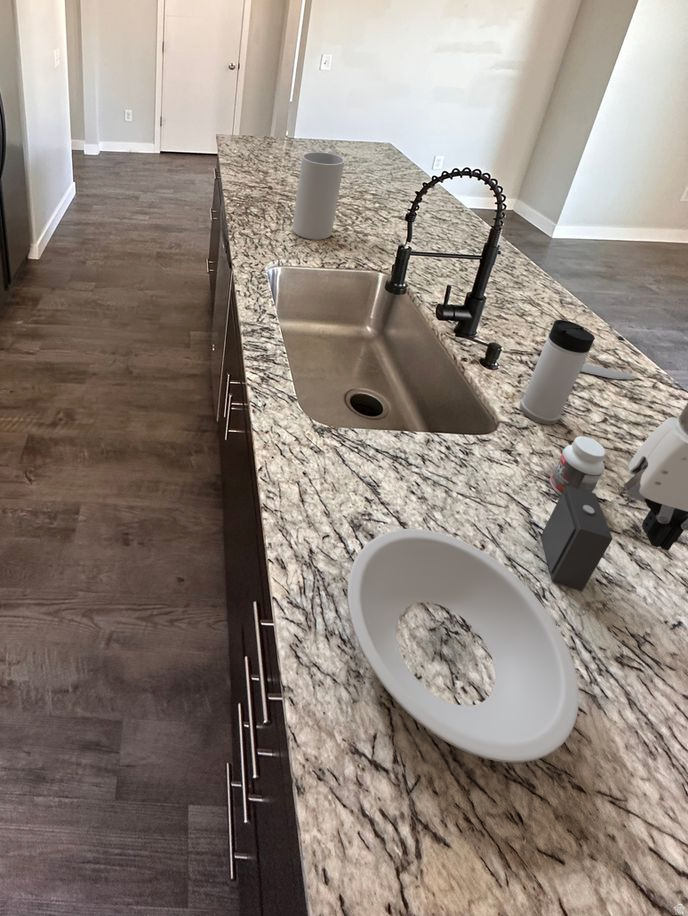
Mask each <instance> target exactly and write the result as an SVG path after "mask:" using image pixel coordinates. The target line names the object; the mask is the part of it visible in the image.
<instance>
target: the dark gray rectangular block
mask: <svg viewBox="0 0 688 916" xmlns="http://www.w3.org/2000/svg"><path fill="white" fill-rule="evenodd" d="M607 522H608V521H607V520H606V517H605V514H604V512H603V510H602V507H601V504H600V501H599V499H598V497H597V494H596V493H595V492H592V493H591V492H588V491H584V490H581V489H577V488H574V487H570V486H567V485H566V486H565V488H564V490H563V492H562V494H561V496H560V495H559V498H558V500H557V502H556V504H555V506H554V508H553V511H552V512H551V515H550V516H549V518H548V520H547V523H546V525H545V527H544V528H543V530H542V533H541V535H540V540H541V544H542V548H543V552H544V556H545V560H546V564H547V569H548V572H549V577H550V580H551V582H552V583H555V584H557V585H560V586H563V587H567V588H569V589H573V590H575V591H578V592H583V591H584V589H585V587H586V586H587V584H588V582H589V580H590V579H591V577H592V575H593V574H594V572H595V570H596V568H597V567H598V565H599V564H600V562H601V560H602V558H603V557H604V555H605V553H606V551H607V549H608V548H609V547H610V545H611V543H612V541H613V540H614V538H613V536H612V532H611V530H610V528H609V525H608V523H607Z"/></svg>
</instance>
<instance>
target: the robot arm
mask: <svg viewBox="0 0 688 916" xmlns="http://www.w3.org/2000/svg"><path fill="white" fill-rule="evenodd" d="M627 469H628V472H629V474H632V475H633V476H632V477H631V478H629V479H628V481H626V482H625V483H624V484H623V488H624V491H625V492H626V495H627V496H628V497H631V498H632V499H634V500H636V501H639V502H641V503H645V504H646V506H647V508H648V509H649V511H648V512H647V515H646V516H645V517H644V518H643V521H642V523H641V529H642V531H643V532H644V534H646V536H647V539H648V541H649V544H650V545H651V546H652V547H654V548H657V549H658V548H661V550H664V551H670V549H671V548H672V546H673V545H674V543H677V541H678V540H679V538H680V537H681V536H682V534H683V532H684V531H687V532H688V402H687V403H686V405H685V406H684V408H683V410H682V411H681V413H680V414H679V416H678V417H668V418H667V419H665V420H664V421H663V422H661V423H660V424H659V425H658V426H657V427H656V428H655V429H654V430H653V431H652V432H651V433H650V434H649V435H648V437H647V438H646V439H645V440H644V441H643V442H642V444H641V445H640V446H639V448H638V450H637V451H636V452H635V454H634V455H633V456H632V458H631V460H630V461H629V464H628V466H627Z"/></svg>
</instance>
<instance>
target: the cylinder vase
mask: <svg viewBox="0 0 688 916" xmlns="http://www.w3.org/2000/svg"><path fill="white" fill-rule="evenodd" d="M344 166H345V158H344V157H342V156H340V155H337V154H334V153H330V152H322V151H310V152H306V153H304V154H302V156H301V163H300V171H299V177H298V184H297V192H296V198H295V206H294V213H293V219H292V227H291V228H292V232H293V233H294V234H295V235H296V236H299V237H300V238H303V239H307V240H315V241H321V240H325V239H328V238H330V237H331V236H332V233H333V228H334V223H335V217H336V211H337V207H338V206H337V205H338V201H339V200H338V199H339V194H340V190H341V189H340V188H341V183H342V177H343V173H344Z"/></svg>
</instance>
